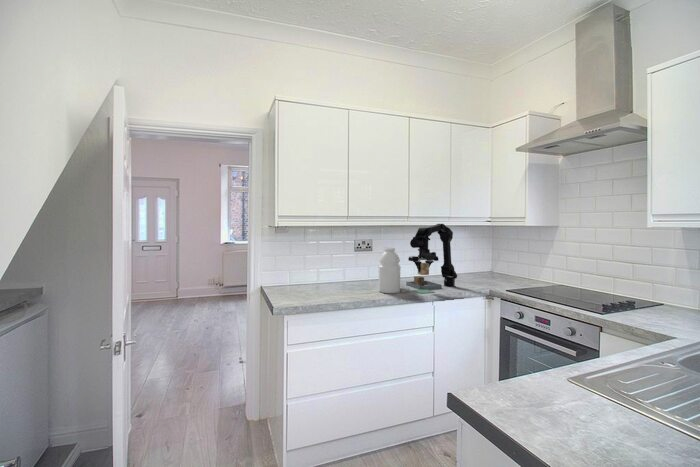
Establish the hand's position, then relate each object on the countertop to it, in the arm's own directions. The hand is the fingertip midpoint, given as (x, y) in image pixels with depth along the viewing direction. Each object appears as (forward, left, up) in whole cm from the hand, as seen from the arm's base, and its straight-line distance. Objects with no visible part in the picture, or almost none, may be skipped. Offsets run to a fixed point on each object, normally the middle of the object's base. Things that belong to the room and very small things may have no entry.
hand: (423, 272), depth 212 cm
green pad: (0, 0, -13) cm, 13 cm away
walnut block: (-9, -20, -12) cm, 25 cm away
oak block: (0, 0, -1) cm, 1 cm away
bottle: (+19, -10, -13) cm, 25 cm away
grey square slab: (-9, -14, -13) cm, 21 cm away
